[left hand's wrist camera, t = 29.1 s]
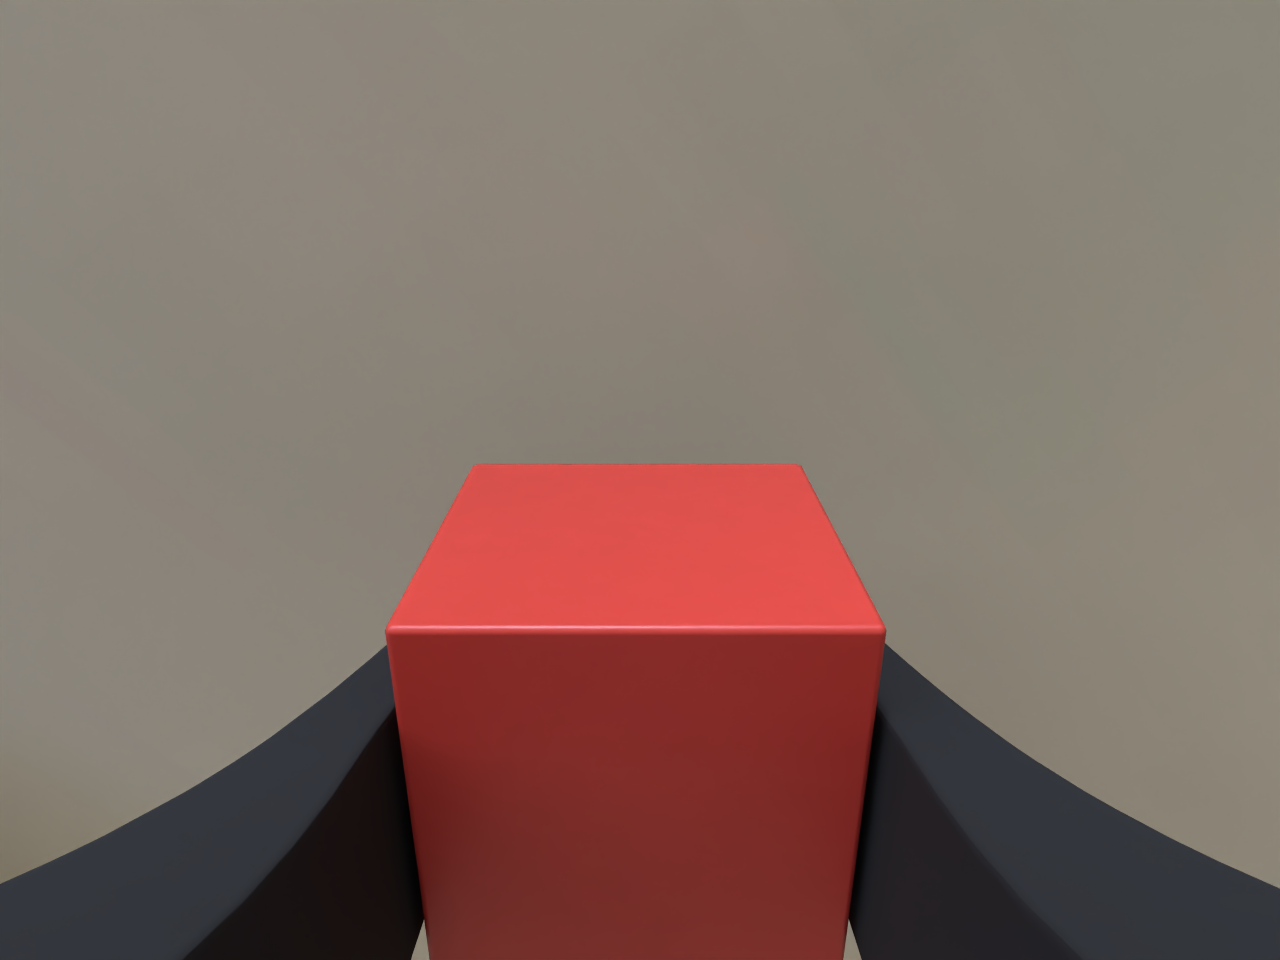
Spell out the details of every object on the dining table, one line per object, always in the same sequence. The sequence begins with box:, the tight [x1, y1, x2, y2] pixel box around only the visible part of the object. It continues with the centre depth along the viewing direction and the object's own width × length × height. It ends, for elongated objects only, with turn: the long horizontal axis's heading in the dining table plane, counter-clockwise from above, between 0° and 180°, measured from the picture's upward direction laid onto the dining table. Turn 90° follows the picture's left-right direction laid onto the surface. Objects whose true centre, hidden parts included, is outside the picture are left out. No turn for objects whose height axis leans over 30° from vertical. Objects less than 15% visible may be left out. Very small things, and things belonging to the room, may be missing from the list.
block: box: [385, 464, 886, 960], centre depth 11 cm, size 5×5×4 cm
